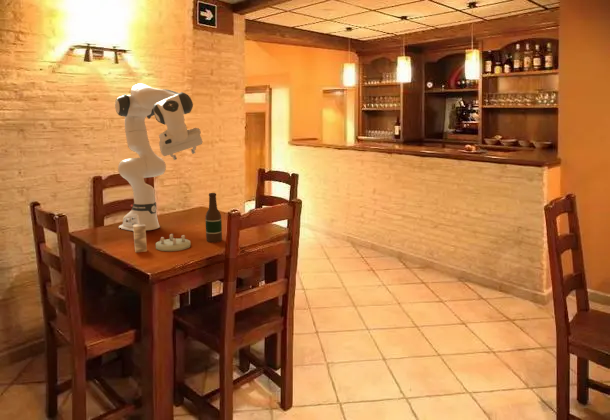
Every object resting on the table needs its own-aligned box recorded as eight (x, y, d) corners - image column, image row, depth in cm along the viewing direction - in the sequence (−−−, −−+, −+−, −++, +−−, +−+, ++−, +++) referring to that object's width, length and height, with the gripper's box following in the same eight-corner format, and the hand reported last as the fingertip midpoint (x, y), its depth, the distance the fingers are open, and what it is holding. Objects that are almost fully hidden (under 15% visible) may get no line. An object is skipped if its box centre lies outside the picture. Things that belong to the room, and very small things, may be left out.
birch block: (135, 252, 224) (133, 226, 222) (134, 249, 229) (133, 224, 226) (147, 251, 226) (145, 225, 224) (145, 248, 231) (144, 223, 228)
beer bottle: (214, 237, 250) (212, 191, 246) (225, 240, 246) (223, 192, 241) (203, 241, 244) (201, 193, 239) (214, 243, 240) (212, 195, 235)
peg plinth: (158, 252, 223) (157, 242, 222) (154, 244, 238) (153, 234, 237) (193, 249, 230) (192, 238, 229) (187, 241, 244) (186, 231, 243)
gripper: (197, 123, 235) (202, 145, 245) (155, 136, 229) (162, 158, 239) (201, 130, 231) (206, 152, 241) (159, 143, 225) (166, 166, 235)
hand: (184, 155), depth 240 cm, fingers open, 8 cm apart
